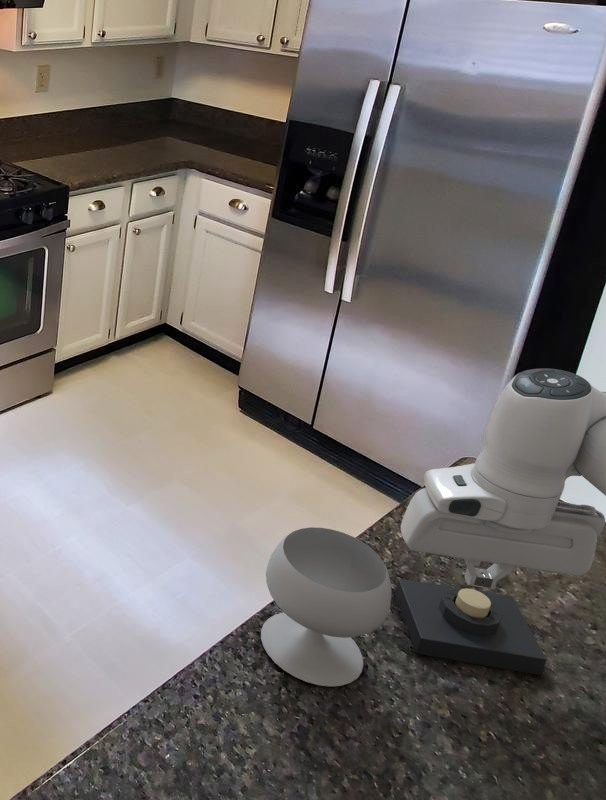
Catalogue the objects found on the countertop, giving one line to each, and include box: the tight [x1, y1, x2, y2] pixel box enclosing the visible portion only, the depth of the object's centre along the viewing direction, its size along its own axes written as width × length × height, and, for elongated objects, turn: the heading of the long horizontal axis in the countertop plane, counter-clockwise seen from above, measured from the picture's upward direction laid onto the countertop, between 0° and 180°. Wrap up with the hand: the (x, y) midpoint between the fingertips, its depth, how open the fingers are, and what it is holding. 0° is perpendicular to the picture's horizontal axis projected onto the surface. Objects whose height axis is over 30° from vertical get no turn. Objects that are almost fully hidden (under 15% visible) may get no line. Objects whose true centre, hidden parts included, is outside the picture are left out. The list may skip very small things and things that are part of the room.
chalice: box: [260, 526, 392, 687], centre depth 99 cm, size 14×14×15 cm
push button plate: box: [394, 578, 547, 676], centre depth 104 cm, size 14×11×4 cm
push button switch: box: [455, 587, 491, 618], centre depth 103 cm, size 4×4×2 cm
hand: (478, 583), depth 102 cm, fingers closed
